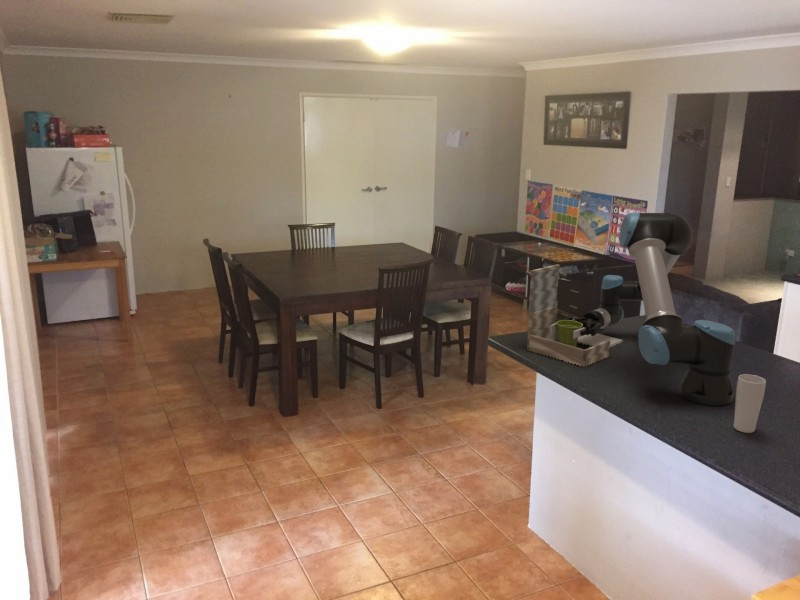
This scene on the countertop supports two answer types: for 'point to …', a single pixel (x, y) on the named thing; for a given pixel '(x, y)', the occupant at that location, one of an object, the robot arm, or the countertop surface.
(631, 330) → the countertop surface
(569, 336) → the plant pot
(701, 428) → the countertop surface
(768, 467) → the countertop surface
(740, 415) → the drinking glass
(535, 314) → the zigzag patterned stand
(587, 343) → the stone pad
